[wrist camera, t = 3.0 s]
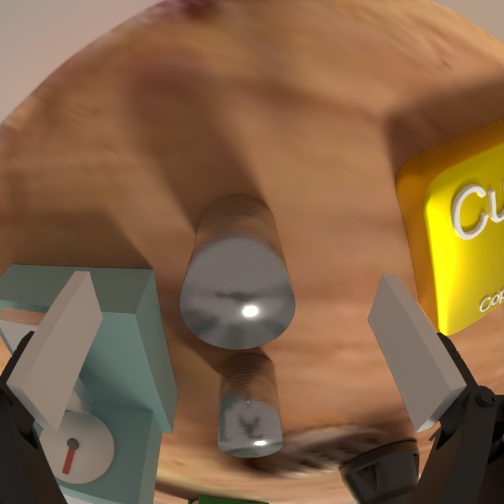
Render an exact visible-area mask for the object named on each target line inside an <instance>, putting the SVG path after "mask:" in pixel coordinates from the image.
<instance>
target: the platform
mask: <svg viewBox="0 0 504 504" xmlns="http://www.w3.org/2000/svg"><path fill="white" fill-rule="evenodd" d="M45 315H46V313H40V312H33V311H26V310H19V309H13V308H7V307H4V309H3V310H2V311H1V313H0V328H1V330H2V332H3V334H4V336H5V337H6V339H7V341H8V343H9V345H10V346H11V348H12V350H13V352H14V351H15V350H16V349H17V346H18V344H19V343H20V341H21V339H22V338H23V337H24V336H25V335H26V334H27V333H29V332H30V331H36V329H37V328H38V326H39V324H40V323H41V321H42V320H43V318H44V316H45ZM93 403H94V402H93V401H92V399H91V397H90V396H89V394H88V392H87V391H86V389H85V387H84V385H83V384H82V382H81V380H80V378H79V376H78V378H77V380H76V383H75V385H74V388H73V390H72V393H71V396H70V398H69V401H68V404H67V406H66V409H67V410H71V411H75V412H79V413H83V414H88V415H90V412H91V409H92V406H93Z"/></svg>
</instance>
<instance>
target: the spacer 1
mask: <svg viewBox="0 0 504 504" xmlns="http://www.w3.org/2000/svg"><path fill="white" fill-rule="evenodd" d="M179 304H180V312H181V316H182V318H183V321H184V322H185V324H186V326H187V327H188V328H189V330H190V331H191V332H192V333H193V334H194V335H196V336H197V337H198V338H200V339H201V340H203V341H205V342H207V343H209V344H211V345H214V346H217V347H221V348H225V349H235V350H240V349H250V348H255V347H259V346H262V345H264V344H266V343H269V342H271V341H272V340H274V339H276V338H277V337H278V336H280V335H281V334H282V333H283V332H284V331H285V330H286V328H287V327H288V326H289V324H290V323H291V321H292V318H293V316H294V312H295V297H294V293H293V289H292V285H291V281H290V277H289V273H288V269H287V265H286V262H285V258H284V254H283V250H282V246H281V242H280V239H279V235H278V231H277V227H276V224H275V220H274V217H273V215H272V213H271V212H270V210H269V209H268V208H267V207H266V206H265V205H264V204H263V203H262V202H260V201H259V200H257V199H255V198H253V197H250V196H246V195H229V196H226V197H223V198H220V199H218V200H217V201H215V202H214V203H212V204H211V205H210V206H209V207H208V208H207V209H206V211H205V212H204V214H203V216H202V218H201V222H200V225H199V228H198V232H197V236H196V239H195V243H194V246H193V250H192V254H191V257H190V261H189V265H188V268H187V272H186V276H185V280H184V284H183V288H182V292H181V296H180V302H179Z"/></svg>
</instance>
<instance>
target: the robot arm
mask: <svg viewBox="0 0 504 504" xmlns="http://www.w3.org/2000/svg"><path fill="white" fill-rule="evenodd" d="M102 320H103V316H102V313H101V309H100V306H99V303H98V300H97V297H96V293H95V290H94V287H93V283H92V280H91V276H90V272H88V271H75V272H74V274H73V275H72V276H71V278H70V279H69V281H68V282H67V284H66V285H65V286H64V288H63V289H62V291H61V292H60V294H59V295H58V297H57V298H56V300H55V301H54V303H53V304H52V306H51V307H50V309H49V310H48V312H47V313H46V315H45V316H44V318H43V320H42V321H41V323H40V324H39V326H38V328H37V329H36V331H30V332H29V333H27V334H26V335H25V336H24V337H23V338H22V339H21V341H20V343H19V344H18V346H17V349H16V350H15V351H14V353H13V354H12V357H11V358H10V360H9V361H8V363H7V365H6V367H5V369H4V370H3V372H2V374H1V376H0V504H68V503H67V502H66V500H65V498H64V496H63V494H62V492H61V490H60V488H59V485H58V483H57V481H56V479H55V477H54V475H53V472H52V470H51V468H50V466H49V463H48V461H47V458H46V456H45V453H44V451H43V448H42V446H41V443H40V440H39V437H38V435H37V432H36V430H35V428H34V426H33V423H34V421H35V420H36V421H37V422H38V423H39V425H40V426H41V427H43V428H46V429H49V430H52V431H55V432H58V429H59V426H60V423H61V420H62V418H63V415H64V412H65V409H66V406H67V404H68V401H69V398H70V396H71V393H72V390H73V388H74V385H75V383H76V380H77V378H78V375H79V373H80V370H81V368H82V365H83V363H84V360H85V358H86V356H87V353H88V351H89V349H90V346H91V344H92V342H93V340H94V337H95V335H96V333H97V331H98V329H99V326H100V324H101V322H102ZM368 322H369V324H370V326H371V328H372V330H373V333H374V335H375V337H376V339H377V341H378V343H379V346H380V348H381V350H382V352H383V355H384V357H385V359H386V361H387V364H388V366H389V368H390V371H391V373H392V375H393V377H394V380H395V382H396V385H397V387H398V389H399V392H400V394H401V397H402V399H403V402H404V404H405V407H406V409H407V412H408V414H409V417H410V419H411V422H412V424H413V427H414V430H415V432H420V431H423V430H427V429H430V428H432V427H433V426H434V425H435V423H436V422H437V421H438V420H439V421H440V424H441V427H440V428H439V429H438V430H437V431H436V432H435V433H434V434H433V435H432V436H431V437H430V439H429V441H432V440H433V439H434V438H435V437H436V438H435V441H434V443H433V446H432V449H431V452H430V454H429V457H428V460H427V462H426V465H425V467H424V470H423V472H422V475H421V478H420V479H419V450H418V447H417V444H416V442H413V441H404V442H398V443H394V444H390V445H387V446H384V447H381V448H378V449H375V450H373V451H370V452H368V453H365V454H363V455H361V456H359V457H357V458H355V459H353V460H351V461H350V462H348V463H347V464H345V465H344V466H343V467H342V468H341V470H340V472H341V477H342V481H343V483H344V484H345V486H346V487H347V489H348V490H349V492H350V493H351V495H352V496H353V498H354V499H355V501H356V503H357V504H504V395H495V394H494V393H493V392H492V391H491V389H489V388H487V387H486V386H478V384H477V383H476V381H475V379H474V378H473V376H472V374H471V373H470V371H469V369H468V367H467V366H466V364H465V362H464V361H463V359H461V356H460V354H459V353H458V351H456V348H455V346H454V345H453V343H452V341H451V340H450V339H449V338H448V337H446V336H445V335H444V334H443V333H442V332H441V333H436V332H435V330H434V329H433V327H432V326H431V324H430V323H429V321H428V319H427V318H426V316H425V315H424V313H423V312H422V310H421V309H420V307H419V306H418V304H417V303H416V301H415V300H414V298H413V297H412V296H411V294H410V293H409V291H408V290H407V288H406V287H405V286H404V284H403V283H402V281H401V280H400V278H399V277H398V276H397V274H382V276H381V279H380V283H379V286H378V289H377V293H376V296H375V299H374V302H373V305H372V308H371V311H370V314H369V317H368Z"/></svg>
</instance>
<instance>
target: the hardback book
mask: <svg viewBox="0 0 504 504" xmlns="http://www.w3.org/2000/svg"><path fill="white" fill-rule="evenodd" d="M188 504H269V503H261V502H248V501H237V500H229V499H221V498H214V497H208V496H201V495H199V496H198V500H197V501H194V500H188Z"/></svg>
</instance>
